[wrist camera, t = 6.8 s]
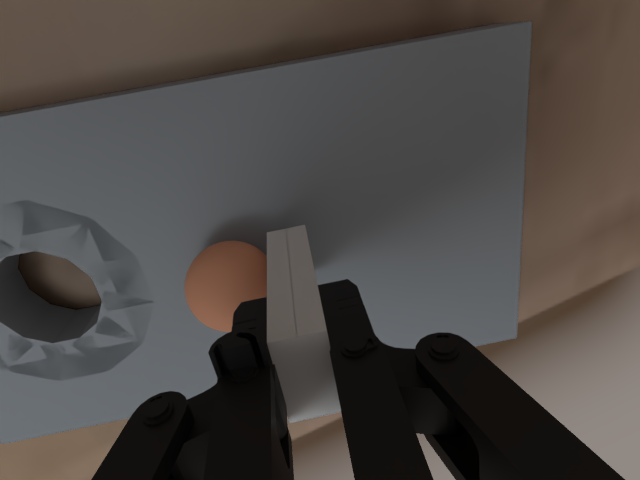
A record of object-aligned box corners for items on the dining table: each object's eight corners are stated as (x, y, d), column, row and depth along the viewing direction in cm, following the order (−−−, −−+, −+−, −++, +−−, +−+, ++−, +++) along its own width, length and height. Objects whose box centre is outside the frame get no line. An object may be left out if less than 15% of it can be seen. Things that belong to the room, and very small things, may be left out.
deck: (28, 403, 22) (2, 444, 20) (-137, 137, 16) (-201, 153, 14) (492, 309, 23) (516, 337, 21) (497, 23, 17) (531, 20, 15)
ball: (243, 362, 15) (303, 307, 17) (215, 277, 13) (284, 230, 16) (182, 337, 17) (243, 291, 19) (152, 261, 15) (222, 221, 18)
